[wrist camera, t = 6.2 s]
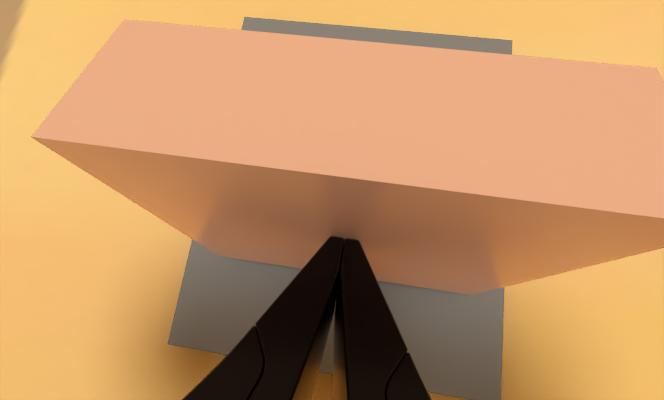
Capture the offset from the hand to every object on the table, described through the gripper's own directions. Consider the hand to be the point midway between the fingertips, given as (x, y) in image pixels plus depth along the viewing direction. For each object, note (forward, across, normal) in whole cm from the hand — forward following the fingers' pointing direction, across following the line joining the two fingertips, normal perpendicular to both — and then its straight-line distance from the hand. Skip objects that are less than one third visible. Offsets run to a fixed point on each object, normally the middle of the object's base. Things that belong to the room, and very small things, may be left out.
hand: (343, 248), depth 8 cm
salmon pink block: (+2, 0, 0) cm, 2 cm away
